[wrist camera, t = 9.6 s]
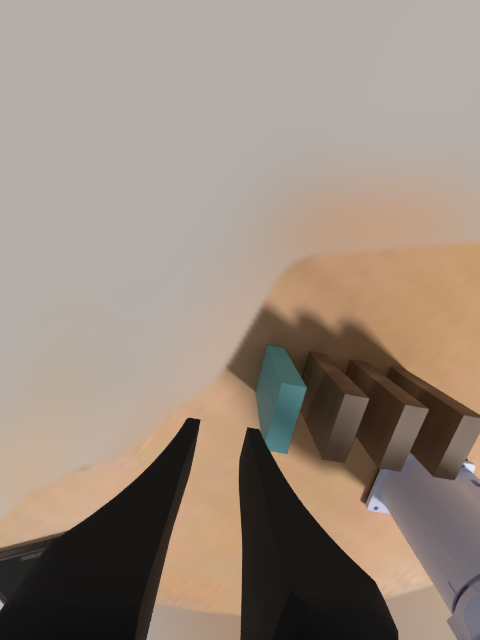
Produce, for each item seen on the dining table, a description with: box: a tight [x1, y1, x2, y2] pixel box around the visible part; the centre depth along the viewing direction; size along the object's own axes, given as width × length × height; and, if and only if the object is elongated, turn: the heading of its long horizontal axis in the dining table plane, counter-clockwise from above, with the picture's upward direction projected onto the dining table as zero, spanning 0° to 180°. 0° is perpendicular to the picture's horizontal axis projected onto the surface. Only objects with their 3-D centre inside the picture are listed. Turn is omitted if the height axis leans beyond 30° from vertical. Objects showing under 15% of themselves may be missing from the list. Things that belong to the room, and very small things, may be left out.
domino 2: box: [346, 360, 429, 472], centre depth 18 cm, size 2×5×7 cm, turn 169°
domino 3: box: [387, 367, 480, 480], centre depth 18 cm, size 2×5×7 cm, turn 169°
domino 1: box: [301, 352, 369, 463], centre depth 18 cm, size 2×5×7 cm, turn 169°
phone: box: [0, 538, 57, 604], centre depth 26 cm, size 8×1×15 cm
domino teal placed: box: [256, 344, 307, 454], centre depth 18 cm, size 2×5×7 cm, turn 168°
